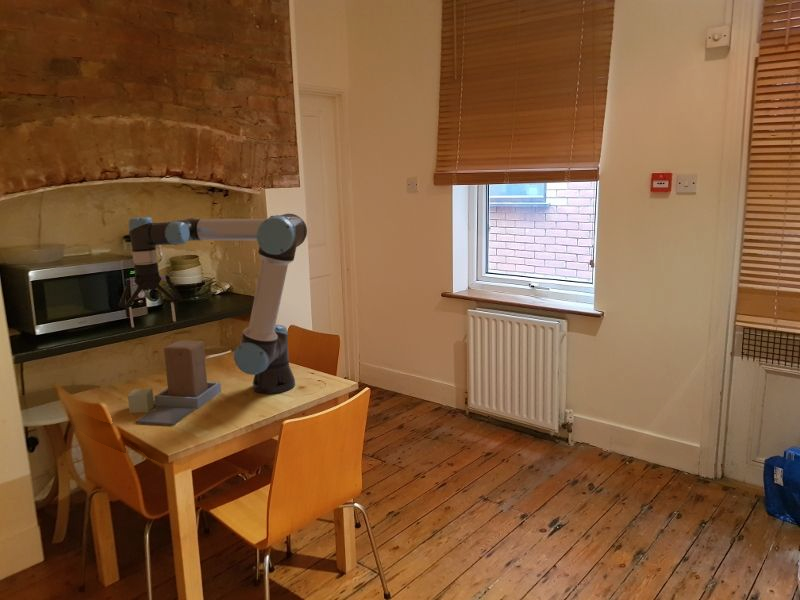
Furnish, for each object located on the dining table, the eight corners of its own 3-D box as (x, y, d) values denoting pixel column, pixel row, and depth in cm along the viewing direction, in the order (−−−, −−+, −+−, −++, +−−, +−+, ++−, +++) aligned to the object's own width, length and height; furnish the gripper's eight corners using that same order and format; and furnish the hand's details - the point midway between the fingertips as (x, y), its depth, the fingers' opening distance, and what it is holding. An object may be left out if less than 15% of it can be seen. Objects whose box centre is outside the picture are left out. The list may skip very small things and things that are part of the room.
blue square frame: (221, 391, 221) (220, 382, 221) (198, 408, 206) (197, 398, 205) (180, 389, 224) (179, 380, 224) (155, 405, 209) (154, 396, 208)
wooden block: (194, 404, 209) (189, 348, 205) (168, 403, 211) (162, 347, 207) (209, 394, 219) (204, 340, 215) (183, 393, 221) (178, 339, 217)
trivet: (194, 410, 205) (194, 407, 204) (172, 425, 192) (172, 423, 192) (159, 408, 207) (159, 405, 207) (135, 423, 195) (135, 420, 195)
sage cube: (154, 405, 210) (152, 388, 209) (148, 412, 204) (146, 395, 203) (136, 406, 210) (134, 389, 208) (129, 412, 204) (127, 395, 203)
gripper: (182, 258, 218) (190, 316, 222) (105, 265, 207) (114, 326, 212) (185, 260, 211) (192, 320, 215) (105, 268, 201) (114, 331, 205)
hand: (153, 323), depth 213 cm, fingers open, 13 cm apart
